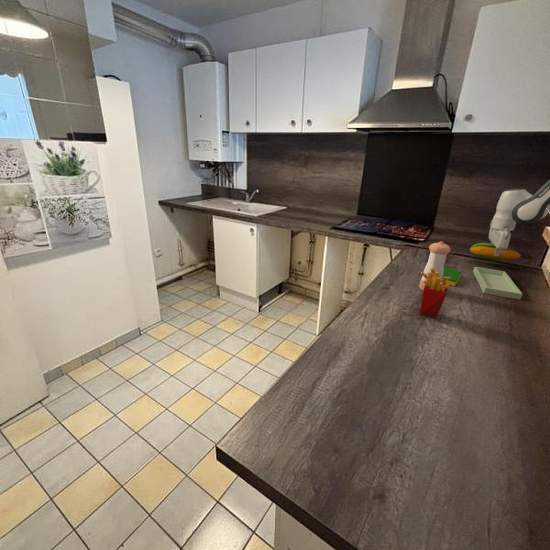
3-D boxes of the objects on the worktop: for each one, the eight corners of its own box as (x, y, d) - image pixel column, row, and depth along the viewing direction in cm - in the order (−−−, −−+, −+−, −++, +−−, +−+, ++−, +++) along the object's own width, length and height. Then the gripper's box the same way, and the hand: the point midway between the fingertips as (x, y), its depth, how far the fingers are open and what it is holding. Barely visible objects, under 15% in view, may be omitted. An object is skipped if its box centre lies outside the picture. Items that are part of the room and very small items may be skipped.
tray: (472, 271, 132) (474, 266, 131) (503, 276, 128) (505, 271, 127) (483, 293, 112) (485, 287, 111) (520, 299, 107) (522, 294, 106)
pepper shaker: (431, 284, 118) (443, 238, 110) (443, 292, 111) (457, 244, 103) (415, 285, 117) (426, 239, 109) (426, 293, 110) (439, 244, 102)
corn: (471, 238, 144) (522, 244, 135) (467, 252, 148) (516, 259, 139) (472, 243, 138) (525, 250, 130) (468, 258, 142) (519, 265, 133)
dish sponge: (460, 276, 126) (462, 271, 125) (454, 286, 116) (456, 281, 116) (442, 272, 130) (444, 267, 130) (435, 281, 121) (436, 276, 120)
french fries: (441, 312, 97) (453, 270, 91) (438, 323, 91) (451, 279, 85) (412, 304, 101) (422, 264, 95) (408, 314, 95) (419, 272, 89)
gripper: (518, 230, 124) (507, 260, 129) (505, 221, 141) (496, 248, 146) (500, 228, 126) (490, 258, 132) (490, 220, 143) (482, 246, 149)
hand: (493, 253), depth 139 cm, fingers closed on corn, 7 cm apart
